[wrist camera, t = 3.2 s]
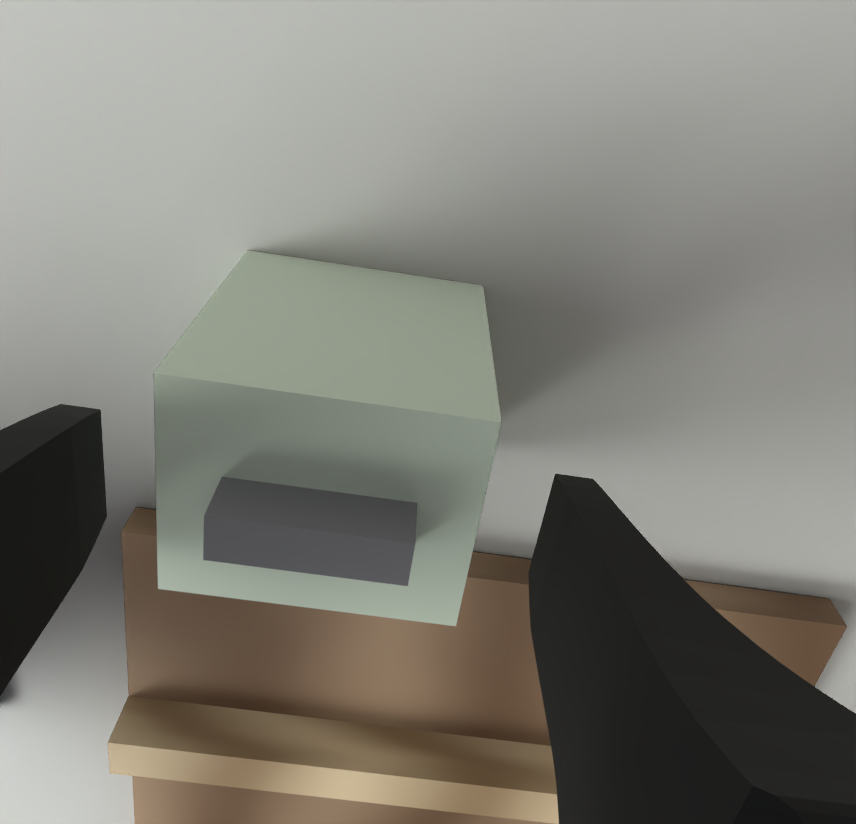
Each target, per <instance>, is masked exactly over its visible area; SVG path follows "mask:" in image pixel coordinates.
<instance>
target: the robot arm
mask: <svg viewBox="0 0 856 824" xmlns="http://www.w3.org/2000/svg"><path fill="white" fill-rule="evenodd" d="M106 517H107V512H106V495H105V478H104V461H103V444H102V427H101V410H99V409H92V408H85V407H78V406H70V405H63V404H60V405H57V406H54V407H52V408H49V409H46V410H44V411H42V412H39V413H37V414H35V415H32V416H30V417H28V418H26V419H24V420H21V421H19V422H17V423H15V424H13V425H11V426H8V427H6V428H4V429H2V430H0V696H1V694H2V693H3V691H4V689H5V687H6V686H7V684H8V683H9V681H10V680H11V678H12V677H13V675H14V674H15V672H16V671H17V669H18V668H19V666H20V665H21V663H22V662H23V660H24V658H25V657H26V655H27V654H28V652H29V651H30V649H31V648H32V646H33V645H34V643H35V642H36V640H37V639H38V637H39V636H40V634H41V633H42V631H43V630H44V628H45V627H46V625H47V624H48V622H49V620H50V619H51V617H52V616H53V614H54V613H55V611H56V610H57V608H58V607H59V605H60V604H61V602H62V601H63V599H64V597H65V596H66V594H67V593H68V591H69V590H70V588H71V587H72V585H73V583H74V582H75V580H76V579H77V577H78V575H79V574H80V572H81V571H82V569H83V567H84V565H85V563H86V561H87V559H88V557H89V554H90V552H91V550H92V548H93V546H94V544H95V542H96V539H97V537H98V535H99V533H100V530H101V528H102V526H103V524H104V521H105V519H106ZM528 578H529V609H530V628H531V634H532V641H533V647H534V652H535V658H536V664H537V670H538V676H539V681H540V687H541V693H542V698H543V704H544V709H545V715H546V721H547V726H548V732H549V738H550V743H551V749H552V755H553V762H554V770H555V778H556V788H557V802H558V816H559V824H856V714H855V713H854V712H852V711H850V710H849V709H847V708H846V707H844V706H843V705H841V704H840V703H838V702H836V701H835V700H833V699H832V698H830V697H829V696H827V695H826V694H824V693H823V692H821V691H820V690H818V689H817V688H815V687H814V686H813V685H811V684H810V683H808V682H807V681H805V680H804V679H803V678H801V677H800V676H798V675H797V674H796V673H794V672H793V671H791V670H790V669H789V668H787V667H786V666H784V665H783V664H782V663H780V662H779V661H777V660H776V659H775V658H774V657H772V656H771V655H770V654H768V653H767V652H766V651H764V650H763V649H762V648H760V647H759V646H758V645H757V644H755V643H754V642H753V641H752V640H751V639H749V638H748V637H747V636H746V635H745V634H743V633H742V632H741V631H740V630H739V629H737V628H736V627H735V626H734V625H733V624H731V623H730V622H729V621H728V620H727V619H725V618H724V617H723V616H722V615H721V614H720V613H719V612H717V611H716V610H715V609H714V608H713V607H712V606H711V605H710V604H709V603H708V602H706V601H705V600H704V599H703V598H702V597H701V596H700V595H699V594H698V593H697V592H696V591H695V590H694V589H693V588H692V587H691V586H690V585H689V584H688V583H687V582H686V581H685V580H684V579H683V578H682V577H681V576H680V575H679V574H678V573H677V572H676V571H675V570H674V569H673V568H672V567H671V566H670V565H669V564H668V563H667V562H666V561H665V560H664V559H663V558H662V556H661V555H660V554H659V553H658V552H657V551H656V550H655V549H654V548H653V547H652V546H651V544H650V543H649V542H648V541H647V540H646V539H645V538H644V537H643V536H642V534H641V533H640V532H639V531H638V530H637V529H636V528H635V526H634V525H633V524H632V523H631V522H630V521H629V520H628V518H627V517H626V516H625V515H624V514H623V513H622V511H621V510H620V509H619V508H618V507H617V506H616V504H615V503H614V502H613V501H612V500H611V499H610V497H609V496H608V495H607V494H606V493H605V492H604V491H603V489H602V488H601V487H600V486H599V485H598V484H597V483H596V482H595V481H594V480H593V479H589V478H582V477H575V476H568V475H561V474H555V477H554V481H553V484H552V488H551V492H550V495H549V499H548V503H547V506H546V510H545V514H544V517H543V521H542V525H541V528H540V532H539V536H538V539H537V543H536V547H535V550H534V554H533V558H532V561H531V565H530V569H529V572H528ZM0 705H1V704H0Z"/></svg>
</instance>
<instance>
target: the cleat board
mask: <svg viewBox="0 0 856 824" xmlns="http://www.w3.org/2000/svg"><path fill="white" fill-rule="evenodd" d="M121 541H122V562H123V583H124V605H125V626H126V647H127V668H128V689H129V696H128V699H127V701H126V703H125V705H124V708H123V710H122V712H121V714H120V716H119V719H118V721H117V723H116V725H115V728H114V730H113V732H112V734H111V737H110V739H109V741H108V754H109V768H110V773H112V774H121V775H130V776H133V795H134V816H135V824H559V816H558V802H557V788H556V778H555V770H554V762H553V755H552V749H551V743H550V738H549V732H548V726H547V721H546V715H545V709H544V704H543V698H542V693H541V687H540V681H539V676H538V670H537V664H536V658H535V652H534V647H533V641H532V634H531V628H530V609H529V578H528V572H529V569H530V565H531V561H532V560H531V559H524V558H516V557H508V556H501V555H493V554H486V553H478V552H472V557H471V561H470V566H469V570H468V575H467V579H466V583H465V588H464V592H463V597H462V601H461V606H460V610H459V615H458V619H457V624H456V626H449V625H441V624H433V623H425V622H418V621H410V620H402V619H394V618H386V617H378V616H370V615H362V614H354V613H346V612H338V611H330V610H322V609H314V608H306V607H298V606H290V605H283V604H275V603H267V602H259V601H251V600H243V599H235V598H227V597H219V596H211V595H203V594H195V593H187V592H179V591H171V590H163V589H158V570H157V521H156V510H153V509H145V508H137V507H136V508H135V509H134V511H133V513H132V514H131V516H130V518H129V519H128V521H127V523H126V524H125V526H124V528H123V529H122V531H121ZM685 581H686V582H687V583H688V584H689V585H690V586H691V587H692V588H693V589H694V590H695V591H696V592H697V593H698V594H699V595H700V596H701V597H702V598H703V599H704V600H705V601H706V602H708V603H709V604H710V605H711V606H712V607H713V608H714V609H715V610H716V611H717V612H719V613H720V614H721V615H722V616H723V617H724V618H725V619H727V620H728V621H729V622H730V623H731V624H733V625H734V626H735V627H736V628H737V629H739V630H740V631H741V632H742V633H743V634H745V635H746V636H747V637H748V638H749V639H751V640H752V641H753V642H754V643H755V644H757V645H758V646H759V647H760V648H762V649H763V650H764V651H766V652H767V653H768V654H770V655H771V656H772V657H774V658H775V659H776V660H777V661H779V662H780V663H782V664H783V665H784V666H786V667H787V668H789V669H790V670H791V671H793V672H794V673H796V674H797V675H798V676H800V677H801V678H803V679H804V680H805V681H807V682H808V683H810V684H811V685H813V686H815V684H816V682H817V680H818V679H819V677H820V675H821V673H822V671H823V670H824V668H825V666H826V664H827V662H828V660H829V659H830V657H831V655H832V653H833V651H834V649H835V648H836V646H837V644H838V642H839V640H840V638H841V637H842V635H843V633H844V631H845V629H846V627H847V625H846V624H845V622H844V621H843V619H842V618H841V616H840V614H839V613H838V611H837V610H836V608H835V607H834V605H833V603H832V602H831V600H830V599H826V598H819V597H811V596H804V595H796V594H789V593H781V592H773V591H766V590H758V589H751V588H743V587H736V586H728V585H720V584H713V583H705V582H698V581H690V580H685Z"/></svg>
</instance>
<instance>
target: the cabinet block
mask: <svg viewBox="0 0 856 824" xmlns="http://www.w3.org/2000/svg"><path fill="white" fill-rule="evenodd" d="M153 375H154V423H155V472H156V521H157V570H158V589H163V590H171V591H179V592H187V593H195V594H203V595H211V596H219V597H227V598H235V599H243V600H251V601H259V602H267V603H275V604H283V605H290V606H298V607H306V608H314V609H322V610H330V611H338V612H346V613H354V614H362V615H370V616H378V617H386V618H394V619H402V620H410V621H418V622H425V623H433V624H441V625H449V626H456V624H457V619H458V615H459V610H460V606H461V601H462V597H463V592H464V588H465V583H466V579H467V575H468V570H469V566H470V561H471V557H472V552H473V548H474V543H475V539H476V534H477V530H478V525H479V521H480V516H481V512H482V507H483V503H484V499H485V494H486V490H487V485H488V481H489V476H490V472H491V467H492V463H493V458H494V454H495V449H496V445H497V440H498V436H499V431H500V427H501V423H502V421H501V414H500V406H499V399H498V392H497V384H496V377H495V369H494V362H493V354H492V347H491V339H490V332H489V324H488V317H487V310H486V302H485V295H484V287H483V286H482V285H476V284H469V283H462V282H456V281H449V280H442V279H436V278H429V277H422V276H416V275H409V274H403V273H396V272H389V271H383V270H376V269H369V268H363V267H356V266H349V265H343V264H336V263H330V262H323V261H316V260H310V259H303V258H296V257H290V256H283V255H276V254H270V253H263V252H256V251H250V250H247V252H246V253H245V254H244V256H243V257H242V258H241V260H240V261H239V262H238V263H237V265H236V266H235V267H234V269H233V270H232V271H231V273H230V274H229V275H228V276H227V278H226V279H225V280H224V282H223V283H222V284H221V286H220V287H219V288H218V290H217V291H216V292H215V293H214V295H213V296H212V297H211V299H210V300H209V301H208V303H207V304H206V305H205V306H204V308H203V309H202V310H201V312H200V313H199V314H198V316H197V317H196V318H195V320H194V321H193V322H192V323H191V325H190V326H189V327H188V329H187V330H186V331H185V333H184V334H183V335H182V336H181V338H180V339H179V340H178V342H177V343H176V344H175V346H174V347H173V348H172V350H171V351H170V352H169V353H168V355H167V356H166V357H165V359H164V360H163V361H162V363H161V364H160V365H159V366H158V368H157V369H156V370H155V372H154V373H153Z"/></svg>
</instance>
